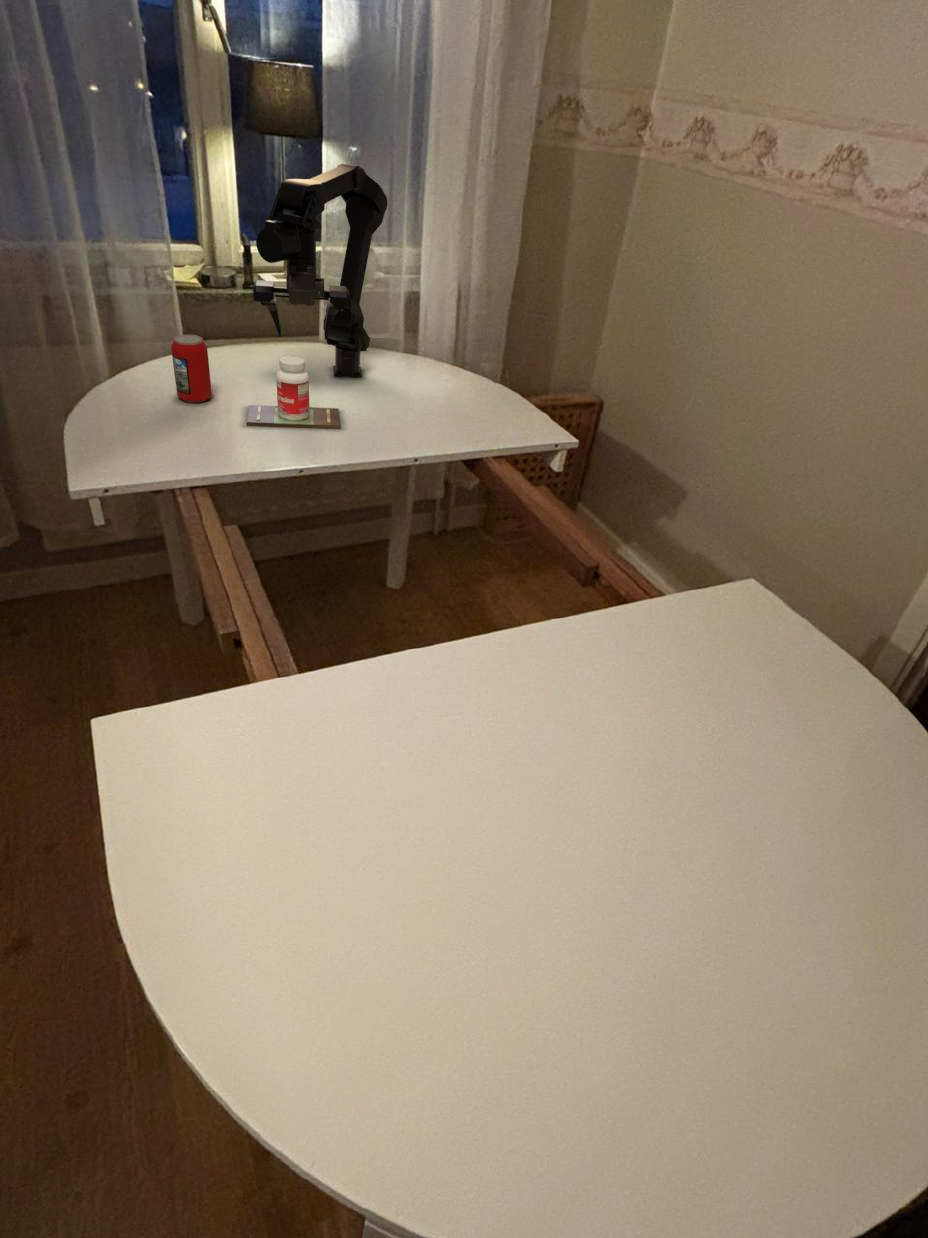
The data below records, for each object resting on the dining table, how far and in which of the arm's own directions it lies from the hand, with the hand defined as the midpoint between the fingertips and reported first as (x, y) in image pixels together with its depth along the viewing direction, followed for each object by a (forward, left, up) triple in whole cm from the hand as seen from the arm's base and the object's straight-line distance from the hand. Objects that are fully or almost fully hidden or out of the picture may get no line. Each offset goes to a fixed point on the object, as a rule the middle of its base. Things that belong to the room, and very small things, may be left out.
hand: (303, 337), depth 153 cm
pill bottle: (+15, -2, -11) cm, 19 cm away
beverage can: (+5, -22, -12) cm, 26 cm away
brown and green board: (+14, -2, -12) cm, 19 cm away
